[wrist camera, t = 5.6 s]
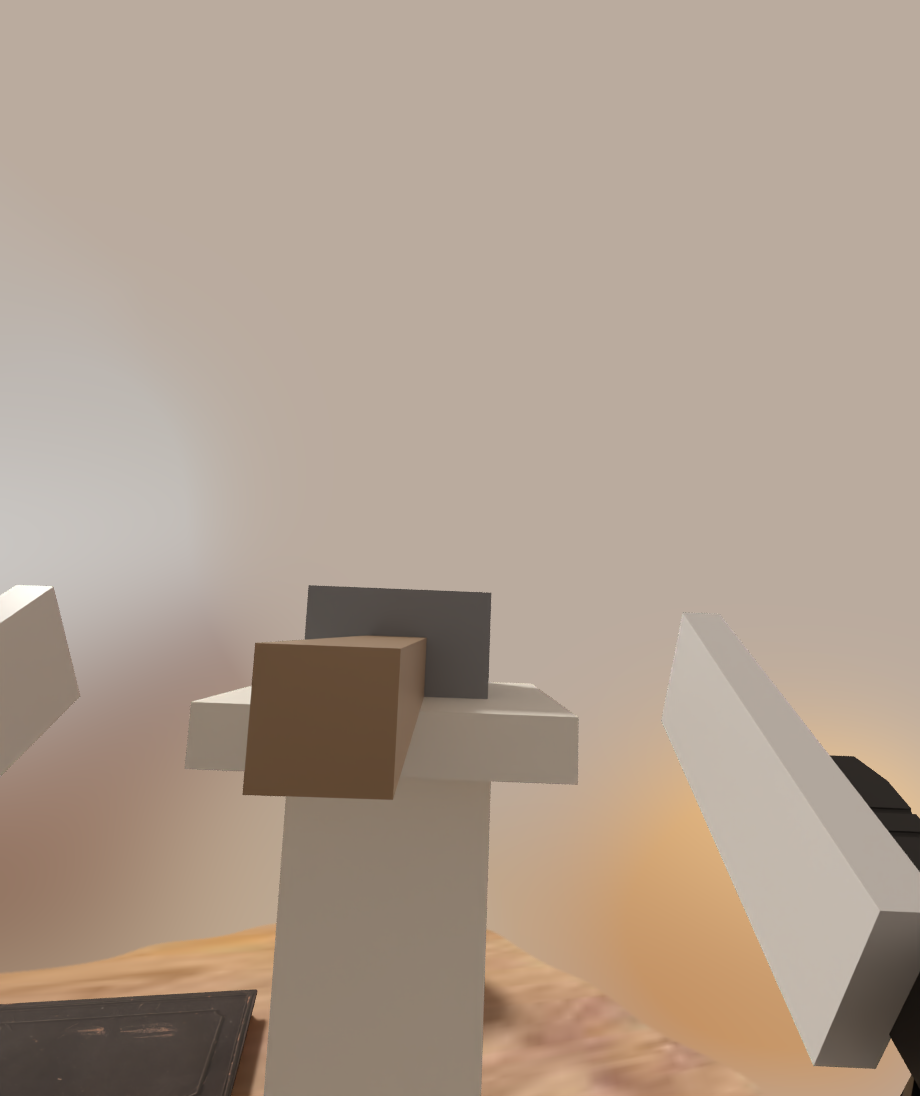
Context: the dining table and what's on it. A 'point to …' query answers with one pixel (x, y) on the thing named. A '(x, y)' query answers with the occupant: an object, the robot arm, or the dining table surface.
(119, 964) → the dining table surface
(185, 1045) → the hardcover book
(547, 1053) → the dining table surface
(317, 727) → the brown and grey bar
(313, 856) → the stand
